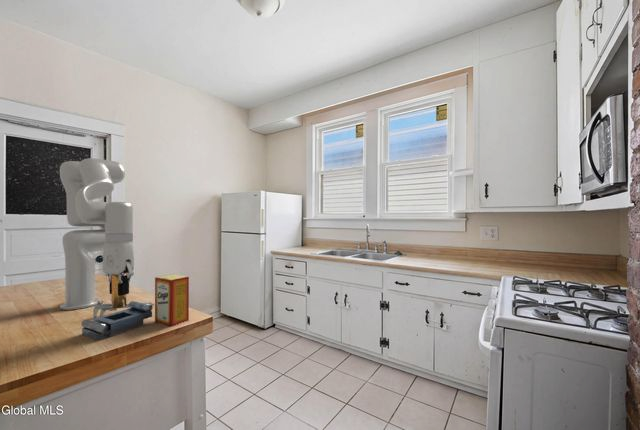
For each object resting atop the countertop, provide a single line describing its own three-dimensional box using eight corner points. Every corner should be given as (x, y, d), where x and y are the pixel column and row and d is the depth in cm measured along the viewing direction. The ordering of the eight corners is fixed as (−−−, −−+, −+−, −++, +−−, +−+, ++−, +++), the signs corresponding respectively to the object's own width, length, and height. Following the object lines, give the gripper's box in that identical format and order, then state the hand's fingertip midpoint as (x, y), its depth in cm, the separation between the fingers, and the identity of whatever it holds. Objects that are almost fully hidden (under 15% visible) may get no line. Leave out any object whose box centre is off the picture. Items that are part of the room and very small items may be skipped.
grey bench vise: (81, 334, 87) (81, 314, 87) (135, 317, 102) (135, 300, 102) (98, 340, 83) (98, 319, 83) (152, 322, 98) (152, 303, 98)
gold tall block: (109, 307, 91) (109, 270, 92) (122, 303, 95) (122, 268, 95) (116, 308, 90) (116, 271, 90) (129, 305, 93) (129, 269, 93)
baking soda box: (155, 321, 98) (155, 276, 99) (172, 315, 104) (172, 273, 104) (171, 326, 94) (171, 279, 94) (188, 320, 99) (188, 275, 100)
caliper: (94, 319, 101) (94, 302, 101) (93, 318, 102) (93, 301, 102) (154, 305, 117) (154, 290, 117) (153, 304, 118) (153, 290, 118)
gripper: (92, 239, 93) (92, 294, 93) (121, 240, 86) (121, 299, 85) (117, 237, 100) (117, 288, 100) (146, 238, 92) (146, 293, 92)
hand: (119, 293), depth 92 cm, fingers closed on gold tall block, 4 cm apart
